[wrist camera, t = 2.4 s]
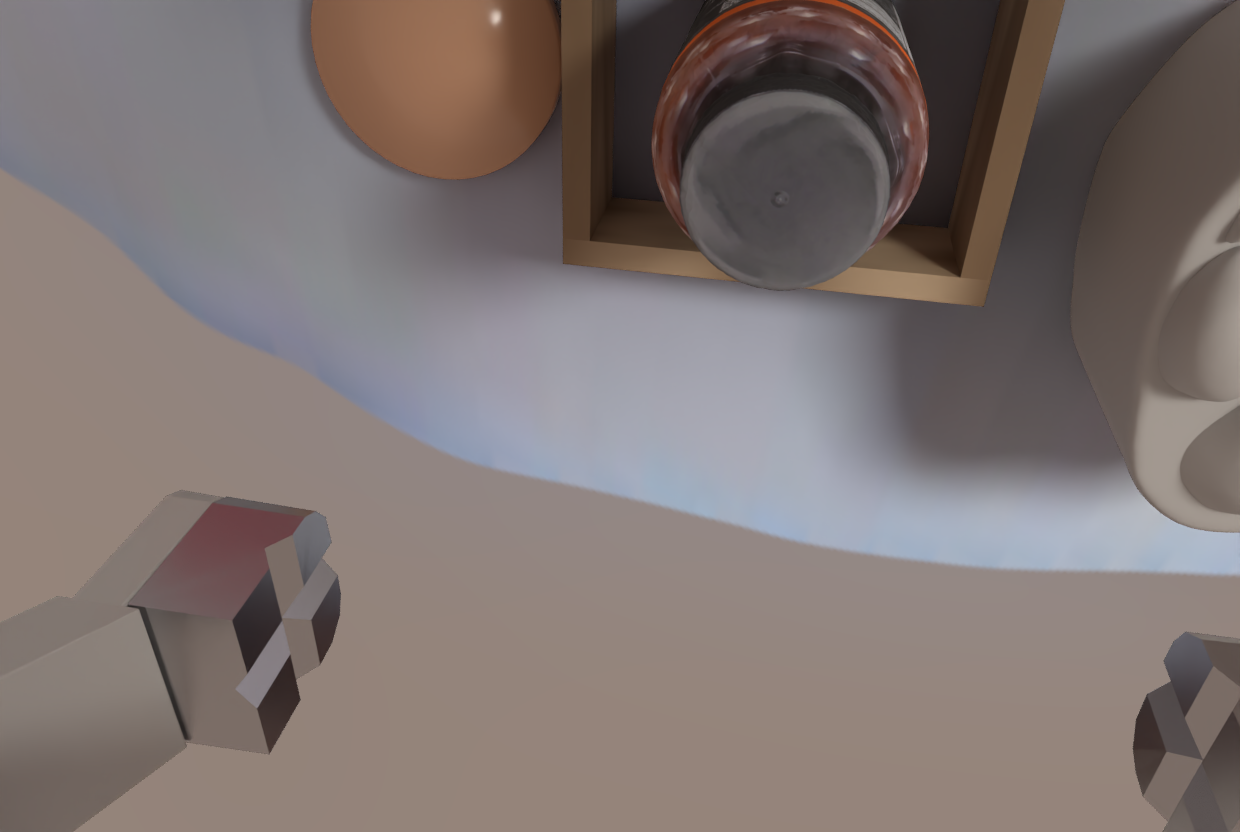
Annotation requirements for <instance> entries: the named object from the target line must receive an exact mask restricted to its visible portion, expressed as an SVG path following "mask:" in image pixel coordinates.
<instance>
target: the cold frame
mask: <svg viewBox="0 0 1240 832" xmlns="http://www.w3.org/2000/svg"><path fill="white" fill-rule="evenodd" d="M616 3H617V0H561V58H562V186H563V264H571V265H580V266H590V267H600V268H610V269H619V270H629V271H639V272H649V273H659V274H668V275H678V276H688V277H698V278H708V279H717V280H727V281H737V280H735V279H734V278H732V277H730V276H728V275H726V274H725V273H724V272H722V271H720V270H719V269H717V268H716V267H715V266H714V265H713V264H712V263H710V262H709V261H708V259H707V258H706V257H705V256H704V255H703V254H702V253H701V252H700V251H699V249H698V248H697V246H696V245H695V244H694V242H693V241H692V240H691V239H690V238H689V237H688V236H687V235H686V234H685V233H684V232H683V230H682V229H681V228H680V226H679V225H678V224H677V222H676V221H675V220H674V218H673V217H672V215H671V213H670V212H669V210H668V208H667V207H666V205H665V202H659V201H648V200H638V199H627V198H616V197H612V182H613V138H614V93H615V48H616ZM1064 3H1065V0H1000V4H999V8H998V13H997V17H996V21H995V26H994V30H993V34H992V39H991V43H990V47H989V52H988V56H987V60H986V65H985V69H984V73H983V78H982V82H981V86H980V91H979V95H978V99H977V104H976V108H975V112H974V117H973V121H972V125H971V130H970V134H969V138H968V143H967V147H966V151H965V156H964V160H963V164H962V169H961V173H960V177H959V182H958V186H957V190H956V195H955V199H954V203H953V208H952V212H951V216H950V221H949V225H948V228H941V227H931V226H920V225H909V224H898V223H897V224H896V225H895V226H894V227H893V229H892V230H890V231H889V232H888V233H887V234H886V236H885V237H884V238H882V239H881V240H880V241H879V242H878V243H877V244H876V245H875V246H874V247H873V248H872V249H870V250H869V251H867V252H865V253H864V254H863V255H862V256H861V258H860V259H859V260H858V261H857V262H855V263H854V264H853V265H852V266H850V267H849V268H848V269H847V270H845V271H844V272H842V273H840V274H839V275H837V276H835V277H834V278H832V279H829V280H827V281H825V282H823V283H819V284H816V285H814V286H811V287H806V288H805V289H815V290H825V291H835V292H845V293H854V294H864V295H874V296H884V297H894V298H903V299H913V300H923V301H933V302H942V303H952V304H962V305H972V306H982V307H984V304H985V300H986V296H987V292H988V289H989V285H990V281H991V277H992V273H993V270H994V266H995V262H996V258H997V255H998V251H999V247H1000V243H1001V240H1002V236H1003V232H1004V228H1005V225H1006V221H1007V217H1008V213H1009V210H1010V206H1011V202H1012V198H1013V195H1014V191H1015V187H1016V183H1017V179H1018V176H1019V172H1020V168H1021V164H1022V161H1023V157H1024V153H1025V149H1026V146H1027V142H1028V138H1029V134H1030V131H1031V127H1032V123H1033V119H1034V116H1035V112H1036V108H1037V104H1038V100H1039V97H1040V93H1041V89H1042V85H1043V82H1044V78H1045V74H1046V70H1047V67H1048V63H1049V59H1050V55H1051V52H1052V48H1053V44H1054V40H1055V37H1056V33H1057V29H1058V25H1059V21H1060V18H1061V14H1062V10H1063V6H1064ZM737 282H740V281H737Z"/></svg>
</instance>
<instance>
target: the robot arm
mask: <svg viewBox="0 0 1240 832" xmlns="http://www.w3.org/2000/svg"><path fill="white" fill-rule="evenodd" d="M330 544H331V537H330V533H329V529H328V524H327V521H326V517H325V516H323V515H321V514H320V513H318V512H316V511H311V510H305V509H299V508H293V507H287V506H281V505H275V504H269V503H263V502H256V501H250V500H244V499H238V498H232V497H225V498H224V497H219V496H212V495H206V494H201V493H195V492H190V491H183V490H180V491H178V492H175V493H172V494H170V495H167V496H166V497H165V498H164V499H163V500H162V501H161V502H160V503H159V504H158V505H157V506H156V507H155V509H154V510H153V511H152V512H151V513H150V514H149V515H148V516H147V517H146V518H145V519H144V520H143V522H142V523H141V524H140V525H139V526H138V527H137V528H136V529H135V530H134V532H133V533H132V534H131V535H130V536H129V537H128V538H127V539H126V540H125V541H124V542H123V543H122V544H121V546H120V547H119V548H118V549H117V550H116V551H115V552H114V553H113V554H112V555H111V556H110V557H109V559H108V560H107V561H106V562H105V563H104V564H103V565H102V566H101V567H100V568H99V569H98V571H97V572H96V573H95V574H94V575H93V576H92V577H91V578H90V579H89V580H88V581H87V583H86V584H85V585H84V586H83V587H82V588H81V589H80V590H79V591H78V592H77V594H75V596H74V597H73V598H68V597H60V596H57V597H55V598H52V599H50V600H48V601H46V602H44V603H42V604H39V605H37V606H35V607H33V608H31V609H29V610H26V611H24V612H22V613H20V614H18V615H16V616H13V617H11V618H9V619H7V620H5V621H2V622H0V832H73V831H75V830H76V829H77V828H79V827H80V826H81V825H83V824H84V823H85V822H87V821H88V820H89V819H91V818H92V817H94V816H95V815H96V814H98V813H99V812H100V811H102V810H103V809H104V808H106V807H107V806H108V805H110V804H111V803H112V802H113V801H115V800H116V799H118V798H119V797H121V796H122V795H123V794H125V793H126V792H127V791H129V790H130V789H131V788H133V787H134V786H135V785H137V784H138V783H139V782H141V781H142V780H143V779H145V778H146V777H148V776H149V775H150V774H151V773H153V772H154V771H155V770H157V769H158V768H160V767H161V766H162V765H164V764H165V763H166V762H168V761H169V760H170V759H172V758H173V757H175V756H176V755H177V754H178V753H180V752H181V751H183V750H184V749H185V748H186V747H187V745H186V742H187V743H194V744H202V745H208V746H215V747H222V748H229V749H236V750H243V751H249V752H256V753H264V754H270V752H271V751H272V749H273V747H274V745H275V744H276V742H277V740H278V738H279V737H280V735H281V733H282V731H283V730H284V728H285V726H286V724H287V723H288V721H289V719H290V717H291V715H292V714H293V712H294V710H295V709H296V707H297V705H298V703H299V702H300V700H301V699H300V695H299V691H298V687H297V682H296V679H298V678H300V677H301V676H303V675H304V674H306V673H308V672H309V671H311V670H313V669H314V668H316V667H318V666H319V665H320V664H321V663H322V661H323V659H324V657H325V655H326V653H327V651H328V650H329V648H330V646H331V644H332V642H333V638H334V635H335V631H336V627H337V624H338V620H339V616H340V600H341V592H340V586H339V580H338V575H337V574H336V573H335V572H334V571H333V570H332V568H330V566H329V565H328V564H327V563H326V562H325V561H324V560H323V559H322V557H323V555H324V554H325V552H326V550H327V549H328V547H329V546H330ZM1164 664H1165V666H1166V669H1167V672H1168V675H1169V677H1170V680H1171V682H1169V683H1167V684H1165V685H1163V686H1161V687H1159V688H1158V689H1156V690H1154V691H1152V692H1150V693H1148V694H1147V695H1146V698H1145V700H1144V702H1143V705H1142V707H1141V709H1140V711H1139V714H1138V716H1137V718H1136V724H1135V734H1134V742H1133V754H1134V762H1135V770H1136V775H1137V778H1138V782H1139V785H1140V788H1141V792H1142V795H1143V797H1144V798H1145V799H1146V800H1147V801H1148V802H1149V803H1150V804H1151V805H1152V806H1153V807H1154V808H1155V809H1156V810H1157V811H1158V812H1159V813H1160V814H1161V815H1162V816H1163V817H1164V818H1165V819H1166V820H1167V821H1168V823H1167V824H1166V826H1165V828H1164V830H1163V832H1240V639H1238V638H1231V637H1222V636H1216V635H1208V634H1200V633H1192V632H1185V633H1183V634H1182V635H1181V636H1180V637H1179V638H1177V639H1176V640H1175V641H1174V642H1173V644H1172V645H1171V647H1170V649H1169V651H1168V653H1167V655H1166V657H1165V659H1164Z"/></svg>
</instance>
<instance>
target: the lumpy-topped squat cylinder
mask: <svg viewBox="0 0 1240 832" xmlns="http://www.w3.org/2000/svg"><path fill="white" fill-rule="evenodd" d="M1070 323H1071V332H1072V337H1073V341H1074V344H1075V347H1076V349H1077V352H1078V354H1079V356H1080V359H1081V361H1082V363H1083V366H1084V368H1085V370H1086V373H1087V375H1088V377H1089V380H1090V382H1091V384H1092V387H1093V389H1094V392H1095V394H1096V396H1097V399H1098V401H1099V403H1100V406H1101V408H1102V410H1103V413H1104V415H1105V417H1106V419H1107V422H1108V424H1109V426H1110V429H1111V431H1112V433H1113V436H1114V438H1115V440H1116V443H1117V445H1118V447H1119V449H1120V451H1121V453H1122V456H1123V458H1124V460H1125V463H1126V466H1127V468H1128V471H1129V473H1130V476H1131V478H1132V480H1133V482H1134V484H1135V485H1136V487H1137V489H1138V490H1139V492H1140V493H1141V494H1142V495H1143V496H1144V497H1145V499H1146V500H1147V501H1148V502H1149V503H1150V504H1151V505H1152V506H1153V507H1155V508H1156V509H1157V510H1158V511H1159V512H1160V513H1162V514H1163V515H1165V516H1166V517H1168V518H1169V519H1171V520H1173V521H1175V522H1177V523H1179V524H1181V525H1184V526H1187V527H1190V528H1194V529H1199V530H1205V531H1213V532H1232V533H1234V532H1240V0H1236V1H1235V2H1233V3H1232V4H1230V5H1229V6H1228V7H1226V8H1225V9H1223V10H1222V11H1221V12H1219V13H1218V14H1216V15H1215V16H1214V17H1212V18H1211V19H1210V20H1209V21H1207V22H1206V23H1205V24H1204V25H1203V26H1201V27H1200V28H1199V29H1198V30H1197V31H1196V32H1195V33H1194V34H1193V35H1192V36H1191V37H1190V38H1189V39H1188V40H1187V41H1186V42H1185V43H1184V44H1183V45H1182V46H1181V47H1180V48H1179V49H1178V50H1177V51H1176V52H1175V53H1174V54H1173V55H1172V57H1171V58H1170V59H1169V60H1168V61H1167V62H1166V63H1165V64H1164V65H1163V67H1162V68H1161V69H1160V70H1159V71H1158V72H1157V73H1156V75H1155V76H1154V77H1153V78H1152V79H1151V81H1150V82H1149V83H1148V84H1147V85H1146V87H1145V88H1144V89H1143V90H1142V91H1141V93H1140V94H1139V95H1138V96H1137V98H1136V99H1135V100H1134V101H1133V103H1132V104H1131V105H1130V106H1129V108H1128V109H1127V110H1126V112H1125V113H1124V114H1123V116H1122V117H1121V118H1120V120H1119V121H1118V122H1117V124H1116V125H1115V127H1114V128H1113V130H1112V131H1111V133H1110V135H1109V136H1108V138H1107V140H1106V143H1105V145H1104V147H1103V150H1102V152H1101V155H1100V158H1099V161H1098V164H1097V167H1096V170H1095V173H1094V176H1093V180H1092V183H1091V187H1090V190H1089V194H1088V198H1087V202H1086V206H1085V210H1084V214H1083V218H1082V223H1081V228H1080V232H1079V237H1078V243H1077V248H1076V255H1075V262H1074V277H1073V287H1072V296H1071V307H1070Z"/></svg>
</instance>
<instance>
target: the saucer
mask: <svg viewBox="0 0 1240 832" xmlns="http://www.w3.org/2000/svg"><path fill="white" fill-rule="evenodd" d="M311 37H312V47H313V52H314V57H315V62H316V65H317V68H318V71H319V75H320V78H321V80H322V83H323V85H324V87H325V89H326V92H327V94H328V96H329V98H330V99H331V101H332V103H333V105H334V106H335V108H336V110H337V111H338V113H339V114H340V115H341V117H342V118H343V120H344V121H345V122H346V124H347V125H348V126H349V127H350V128H351V129H352V131H353V132H354V133H355V134H356V135H357V136H358V137H359V138H360V139H361V140H362V141H363V142H364V143H365V144H367V145H368V146H369V147H370V148H371V149H372V150H374V151H375V152H377V153H378V154H379V155H381V156H382V157H383V158H385V159H387V160H388V161H390V162H392V163H394V164H396V165H397V166H399V167H402V168H404V169H406V170H409V171H411V172H414V173H417V174H420V175H424V176H427V177H433V178H439V179H457V180H459V179H468V178H475V177H479V176H483V175H487V174H489V173H492V172H494V171H497V170H499V169H501V168H503V167H505V166H506V165H508V164H510V163H511V162H513V161H514V160H515V159H517V158H518V157H519V156H520V155H522V154H523V153H524V152H525V151H526V150H527V149H528V148H529V147H530V145H531V144H532V143H533V142H534V141H535V140H536V139H537V137H538V136H539V135H540V134H541V132H542V131H543V129H544V128H545V126H546V125H547V123H548V122H549V120H550V118H551V116H552V114H553V112H554V110H555V108H556V106H557V103H558V100H559V97H560V94H561V91H562V58H561V21H560V18H559V14H558V11H557V8H556V5H555V2H554V0H313V4H312V10H311Z"/></svg>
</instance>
